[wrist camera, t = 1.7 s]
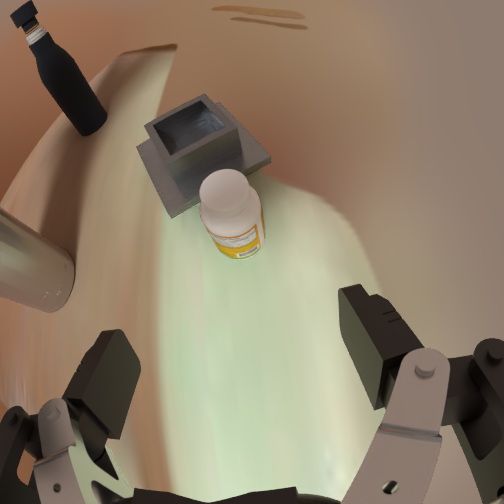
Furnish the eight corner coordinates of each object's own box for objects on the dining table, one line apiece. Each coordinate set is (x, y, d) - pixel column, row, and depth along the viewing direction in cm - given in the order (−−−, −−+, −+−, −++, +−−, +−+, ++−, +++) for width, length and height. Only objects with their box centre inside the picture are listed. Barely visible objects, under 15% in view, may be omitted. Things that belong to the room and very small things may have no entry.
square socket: (171, 218, 32) (153, 193, 27) (139, 151, 37) (123, 126, 32) (271, 162, 34) (268, 130, 28) (220, 107, 39) (213, 79, 33)
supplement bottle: (229, 210, 32) (210, 155, 23) (273, 225, 31) (268, 171, 22) (208, 250, 30) (178, 206, 21) (253, 269, 29) (239, 228, 20)
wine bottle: (83, 141, 41) (0, 22, 13) (77, 127, 43) (5, 20, 15) (111, 119, 42) (38, -7, 14) (103, 107, 44) (38, -5, 16)
